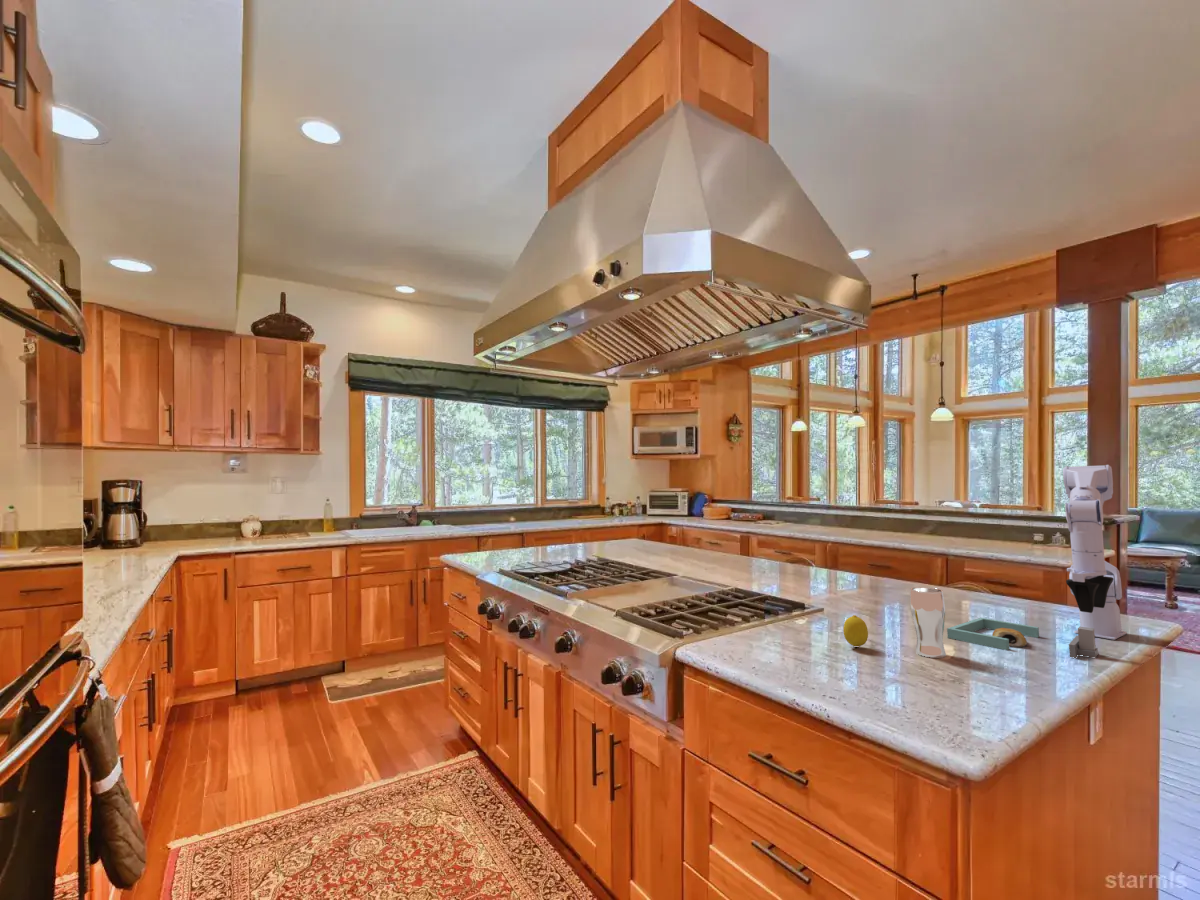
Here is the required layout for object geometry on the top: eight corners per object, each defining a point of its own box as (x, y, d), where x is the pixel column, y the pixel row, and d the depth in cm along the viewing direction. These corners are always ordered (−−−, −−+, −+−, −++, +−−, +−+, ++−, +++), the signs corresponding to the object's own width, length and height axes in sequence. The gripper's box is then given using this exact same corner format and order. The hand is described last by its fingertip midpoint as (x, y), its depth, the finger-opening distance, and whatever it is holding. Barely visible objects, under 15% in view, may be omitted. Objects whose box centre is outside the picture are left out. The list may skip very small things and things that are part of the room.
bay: (981, 626, 151) (980, 617, 151) (1039, 636, 140) (1038, 627, 140) (947, 637, 141) (947, 628, 141) (1007, 650, 130) (1006, 639, 130)
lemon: (871, 652, 131) (869, 618, 132) (847, 651, 132) (845, 617, 133) (865, 645, 137) (863, 612, 137) (841, 644, 138) (840, 612, 138)
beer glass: (945, 651, 130) (941, 587, 131) (950, 660, 124) (945, 593, 125) (912, 648, 133) (908, 586, 134) (915, 657, 127) (910, 591, 128)
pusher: (1077, 648, 130) (1075, 622, 130) (1100, 651, 127) (1097, 625, 127) (1069, 657, 123) (1067, 630, 124) (1093, 661, 120) (1091, 634, 121)
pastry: (991, 636, 142) (990, 621, 142) (1024, 640, 138) (1023, 624, 139) (993, 645, 134) (992, 629, 135) (1028, 649, 131) (1027, 633, 131)
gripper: (1077, 547, 137) (1082, 602, 136) (1054, 552, 129) (1058, 610, 128) (1114, 549, 131) (1120, 607, 130) (1092, 555, 123) (1098, 616, 122)
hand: (1092, 609), depth 128 cm, fingers open, 7 cm apart
